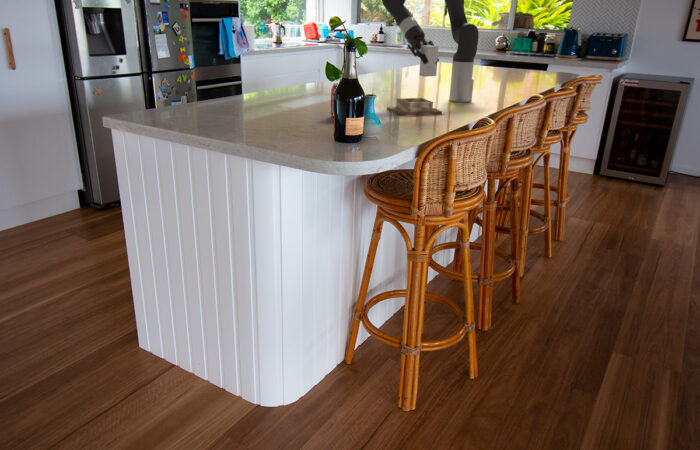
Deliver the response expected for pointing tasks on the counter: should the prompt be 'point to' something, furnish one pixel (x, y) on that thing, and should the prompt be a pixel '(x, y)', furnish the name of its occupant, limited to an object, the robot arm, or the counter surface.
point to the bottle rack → (414, 107)
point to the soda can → (332, 96)
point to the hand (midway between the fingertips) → (432, 62)
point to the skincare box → (429, 61)
